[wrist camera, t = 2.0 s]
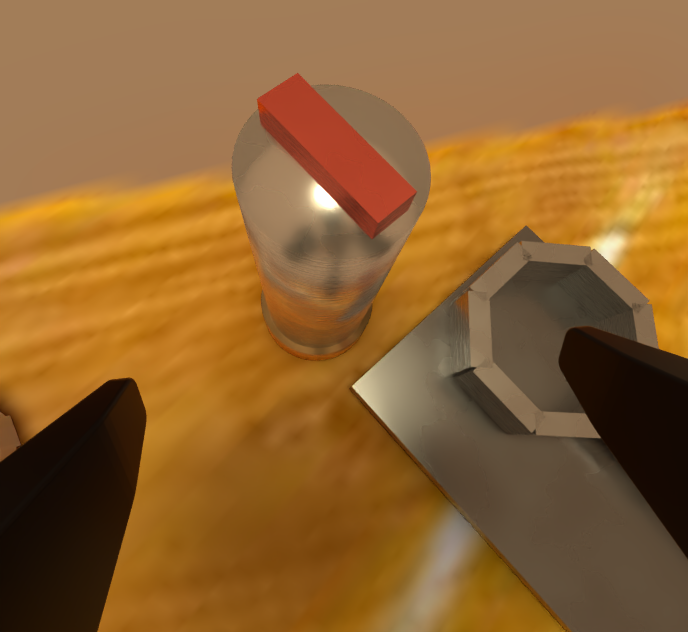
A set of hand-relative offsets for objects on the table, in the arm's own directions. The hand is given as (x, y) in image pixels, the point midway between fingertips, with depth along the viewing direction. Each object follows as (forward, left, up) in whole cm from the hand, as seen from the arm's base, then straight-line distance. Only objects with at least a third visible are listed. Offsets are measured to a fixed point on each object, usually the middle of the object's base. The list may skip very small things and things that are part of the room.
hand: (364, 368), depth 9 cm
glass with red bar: (+4, -3, -13) cm, 14 cm away
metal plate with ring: (-11, -8, -13) cm, 18 cm away
